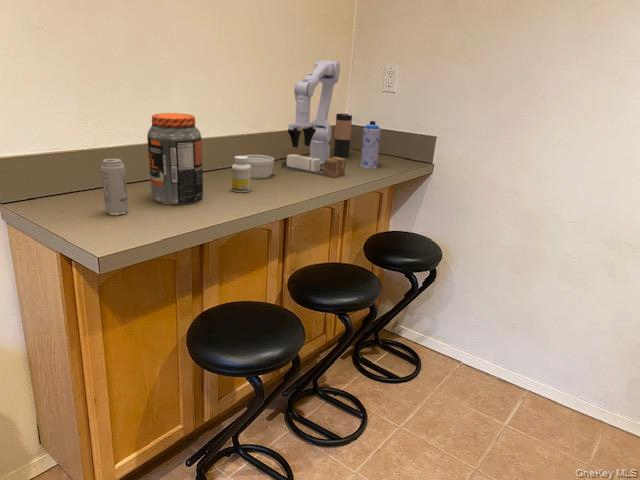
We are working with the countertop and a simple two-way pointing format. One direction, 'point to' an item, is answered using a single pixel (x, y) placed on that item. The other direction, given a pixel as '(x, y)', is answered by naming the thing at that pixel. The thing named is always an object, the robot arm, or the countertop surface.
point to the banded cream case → (303, 162)
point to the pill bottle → (241, 174)
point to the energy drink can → (114, 186)
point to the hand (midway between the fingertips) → (301, 146)
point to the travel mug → (342, 135)
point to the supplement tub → (175, 159)
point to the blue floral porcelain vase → (370, 146)
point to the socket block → (334, 167)
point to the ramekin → (260, 166)
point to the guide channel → (284, 165)
